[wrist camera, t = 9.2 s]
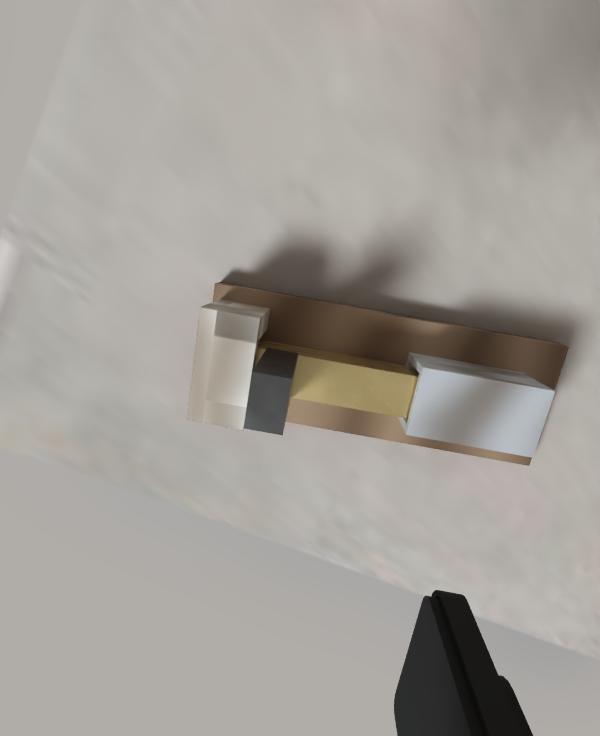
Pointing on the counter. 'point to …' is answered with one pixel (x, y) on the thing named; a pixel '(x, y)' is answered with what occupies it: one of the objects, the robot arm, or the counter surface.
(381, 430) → the sliding bolt latch
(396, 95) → the counter surface
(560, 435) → the counter surface
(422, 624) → the robot arm
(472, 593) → the counter surface
